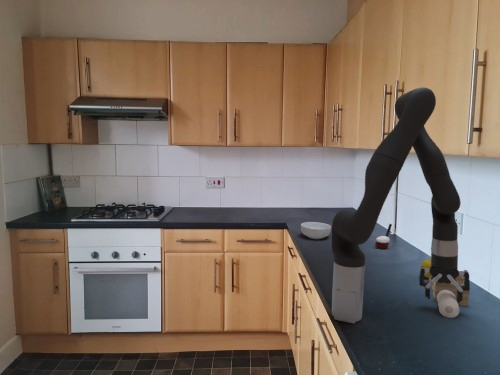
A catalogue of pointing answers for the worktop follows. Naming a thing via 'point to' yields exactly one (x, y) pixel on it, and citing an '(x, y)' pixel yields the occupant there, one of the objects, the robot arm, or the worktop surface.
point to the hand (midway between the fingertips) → (443, 300)
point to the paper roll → (447, 304)
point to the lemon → (427, 265)
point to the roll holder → (444, 286)
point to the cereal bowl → (315, 230)
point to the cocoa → (383, 240)
